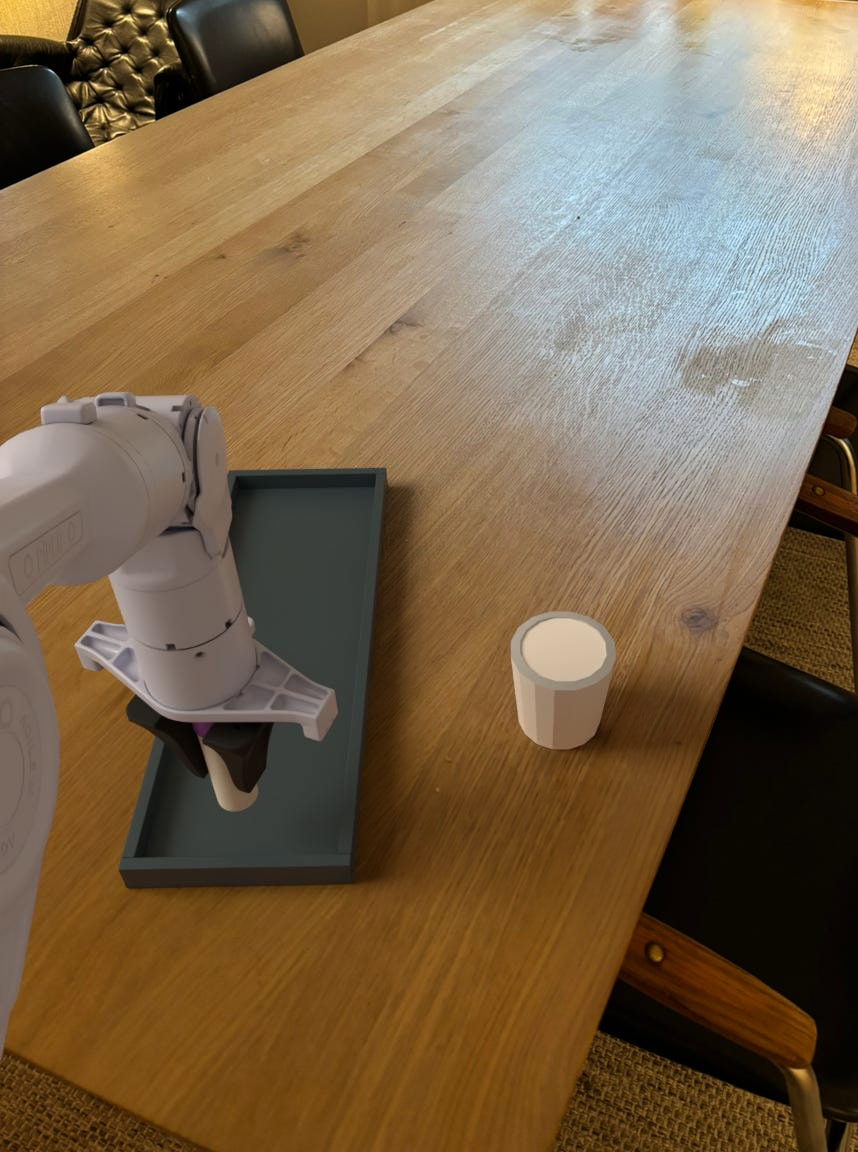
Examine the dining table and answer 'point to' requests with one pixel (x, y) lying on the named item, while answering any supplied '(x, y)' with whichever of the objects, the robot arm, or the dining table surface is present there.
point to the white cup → (561, 677)
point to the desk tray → (315, 649)
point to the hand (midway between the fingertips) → (231, 771)
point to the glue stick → (223, 776)
